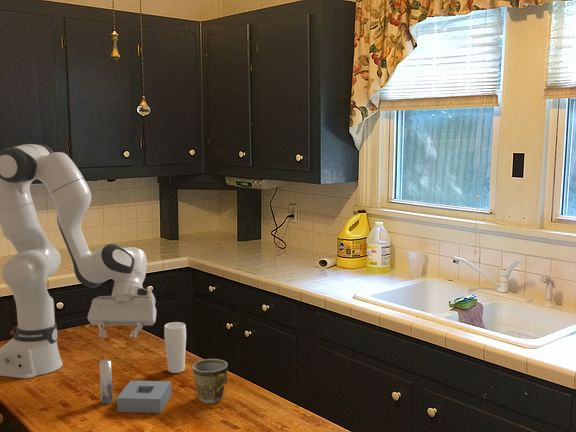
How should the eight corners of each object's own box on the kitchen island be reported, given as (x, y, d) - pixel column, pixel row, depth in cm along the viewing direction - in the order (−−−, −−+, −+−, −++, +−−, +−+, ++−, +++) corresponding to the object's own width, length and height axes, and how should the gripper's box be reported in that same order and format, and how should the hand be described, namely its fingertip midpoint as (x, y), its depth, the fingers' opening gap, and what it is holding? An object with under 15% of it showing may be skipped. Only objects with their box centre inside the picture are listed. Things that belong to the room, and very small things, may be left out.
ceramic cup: (186, 397, 185) (185, 364, 184) (215, 388, 192) (215, 356, 190) (211, 413, 175) (210, 378, 174) (241, 402, 182) (240, 368, 180)
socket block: (117, 411, 177) (116, 397, 176) (131, 393, 188) (130, 380, 188) (160, 413, 176) (159, 399, 175) (171, 394, 187) (171, 381, 187)
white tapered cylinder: (177, 365, 210) (176, 320, 208) (191, 369, 206) (190, 324, 204) (161, 371, 205) (159, 325, 203) (175, 376, 201) (173, 330, 199)
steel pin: (99, 404, 181) (97, 363, 180) (103, 399, 185) (101, 359, 183) (110, 404, 181) (108, 363, 179) (114, 399, 184) (112, 359, 183)
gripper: (90, 290, 197) (79, 331, 189) (156, 291, 196) (148, 332, 188) (96, 300, 202) (86, 341, 194) (160, 301, 201) (153, 342, 193)
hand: (117, 337), depth 191 cm, fingers open, 8 cm apart
